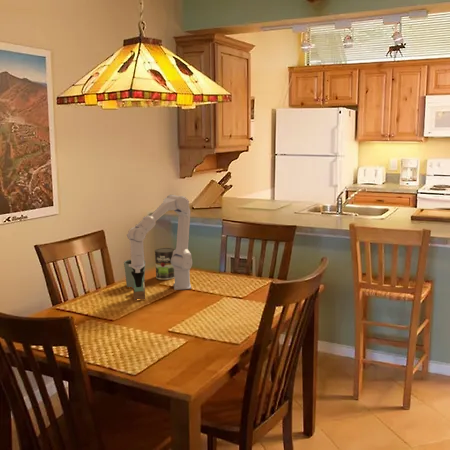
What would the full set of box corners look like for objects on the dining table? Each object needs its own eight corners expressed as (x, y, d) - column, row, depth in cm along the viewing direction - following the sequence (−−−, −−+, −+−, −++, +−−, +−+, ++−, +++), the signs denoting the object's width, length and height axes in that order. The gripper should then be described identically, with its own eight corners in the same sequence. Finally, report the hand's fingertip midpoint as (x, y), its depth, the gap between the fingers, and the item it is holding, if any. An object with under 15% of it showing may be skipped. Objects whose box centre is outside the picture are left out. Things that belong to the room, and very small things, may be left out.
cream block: (134, 292, 254) (133, 282, 253) (142, 291, 256) (142, 281, 255) (136, 295, 251) (136, 284, 250) (145, 293, 252) (144, 283, 251)
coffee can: (173, 280, 273) (172, 252, 271) (153, 279, 275) (152, 252, 273) (178, 274, 283) (177, 247, 281) (159, 274, 285) (157, 247, 283)
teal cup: (121, 288, 262) (120, 263, 260) (130, 282, 272) (128, 258, 269) (141, 289, 260) (140, 264, 257) (149, 283, 269) (148, 259, 267)
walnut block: (133, 297, 247) (133, 288, 247) (145, 296, 248) (144, 288, 248) (133, 300, 243) (133, 292, 242) (145, 300, 243) (144, 291, 243)
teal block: (134, 289, 246) (133, 278, 245) (143, 288, 247) (142, 277, 246) (134, 291, 242) (133, 280, 242) (143, 291, 243) (142, 280, 242)
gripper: (128, 251, 248) (130, 280, 251) (127, 259, 234) (129, 289, 237) (144, 250, 249) (145, 279, 252) (144, 258, 235) (145, 288, 238)
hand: (138, 284), depth 244 cm, fingers open, 7 cm apart
